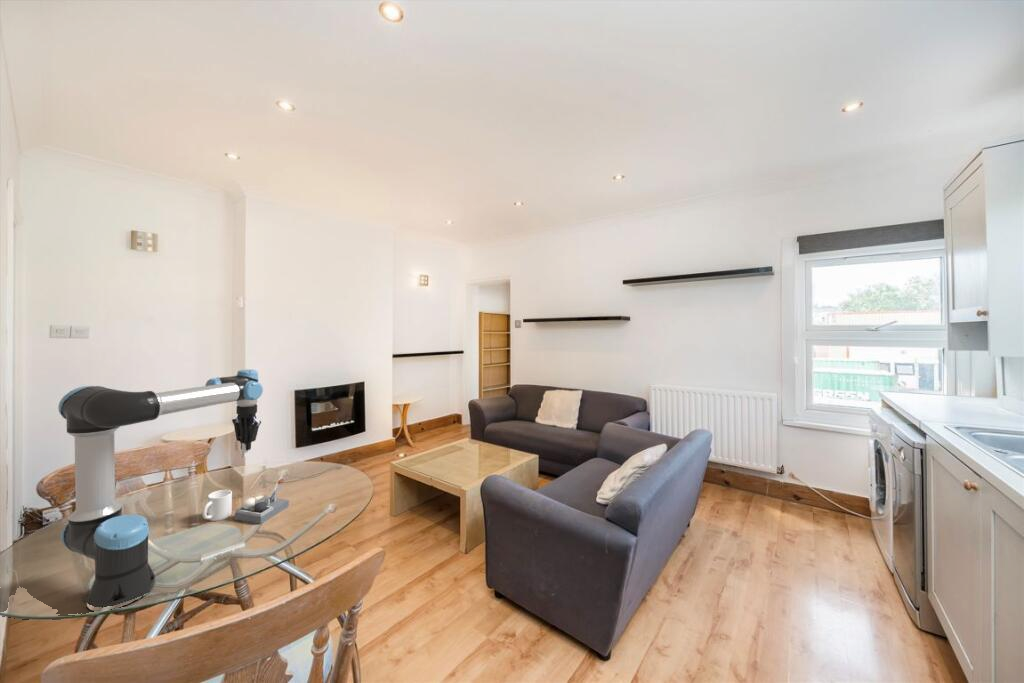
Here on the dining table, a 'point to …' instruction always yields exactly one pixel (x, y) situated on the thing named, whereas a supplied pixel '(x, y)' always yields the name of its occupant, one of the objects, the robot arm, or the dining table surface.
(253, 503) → the button ivory
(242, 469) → the dining table surface
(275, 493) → the lever
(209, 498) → the mug
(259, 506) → the button black
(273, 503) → the panel
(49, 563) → the dining table surface
